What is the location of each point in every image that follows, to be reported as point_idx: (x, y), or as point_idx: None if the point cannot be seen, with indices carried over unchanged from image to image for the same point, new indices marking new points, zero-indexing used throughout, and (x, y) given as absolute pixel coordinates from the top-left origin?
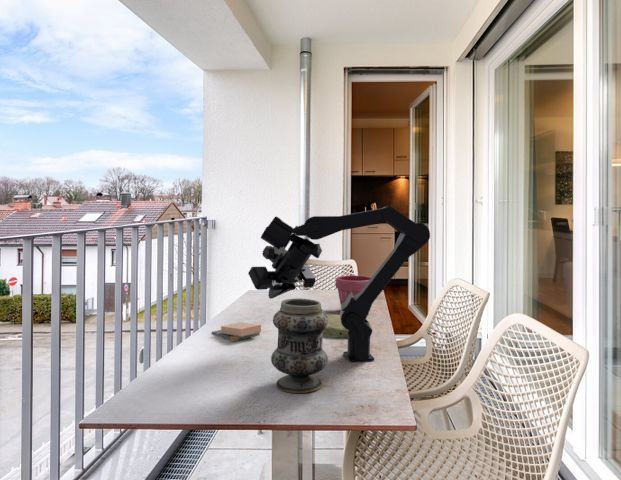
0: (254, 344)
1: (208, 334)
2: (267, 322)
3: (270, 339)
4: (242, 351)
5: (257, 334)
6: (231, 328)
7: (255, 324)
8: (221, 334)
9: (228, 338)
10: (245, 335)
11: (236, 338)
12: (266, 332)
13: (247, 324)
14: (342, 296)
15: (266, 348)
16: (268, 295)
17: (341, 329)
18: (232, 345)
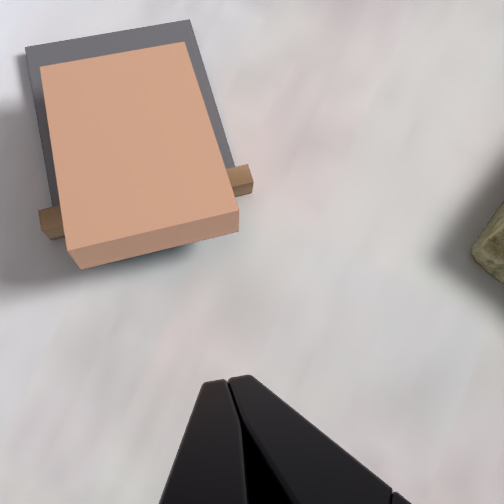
0: (144, 349)
1: (5, 61)
2: (386, 6)
3: (274, 299)
4: (10, 453)
5: (237, 193)
6: (54, 158)
7: (218, 172)
8: (46, 114)
9: (50, 191)
10: (115, 258)
11: None
12: (308, 164)
13: (181, 132)
14: None
15: (172, 465)
16: (201, 390)
17: None
18: (19, 307)
